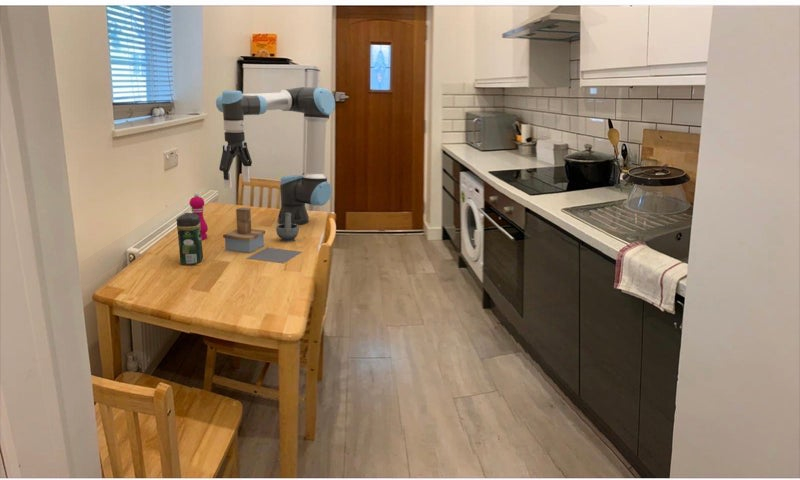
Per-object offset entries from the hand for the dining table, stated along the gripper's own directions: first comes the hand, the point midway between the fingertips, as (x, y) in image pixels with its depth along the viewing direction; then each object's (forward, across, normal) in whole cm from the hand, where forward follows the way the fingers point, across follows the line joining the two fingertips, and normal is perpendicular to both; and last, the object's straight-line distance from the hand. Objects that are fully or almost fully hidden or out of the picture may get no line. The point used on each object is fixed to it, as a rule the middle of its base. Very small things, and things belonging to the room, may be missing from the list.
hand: (237, 184), depth 219 cm
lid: (+20, -2, -3) cm, 21 cm away
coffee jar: (+26, -23, +7) cm, 36 cm away
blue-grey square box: (+26, -2, -3) cm, 27 cm away
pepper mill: (+26, +6, +24) cm, 36 cm away
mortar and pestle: (+27, +15, -14) cm, 34 cm away
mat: (+26, -7, -19) cm, 33 cm away
